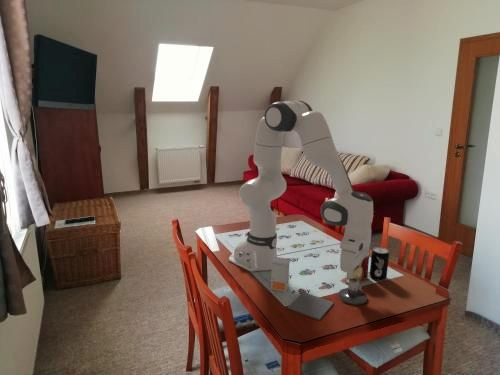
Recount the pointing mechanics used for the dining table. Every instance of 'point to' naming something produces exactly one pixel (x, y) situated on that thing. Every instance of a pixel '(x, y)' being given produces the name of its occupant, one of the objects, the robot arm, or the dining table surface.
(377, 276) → the beverage can
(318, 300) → the mat
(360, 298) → the silver metal stand
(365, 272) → the canned food
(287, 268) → the skincare box
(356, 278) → the cap
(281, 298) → the dining table surface
